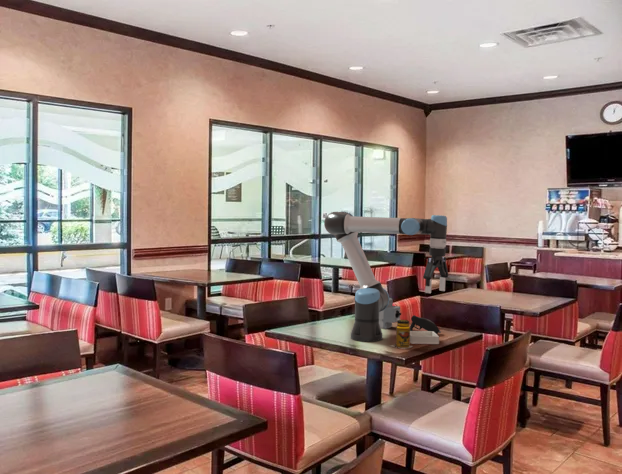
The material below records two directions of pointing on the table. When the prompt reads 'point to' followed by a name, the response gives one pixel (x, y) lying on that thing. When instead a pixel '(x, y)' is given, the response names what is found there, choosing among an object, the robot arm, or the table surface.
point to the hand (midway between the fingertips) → (435, 291)
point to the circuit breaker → (389, 315)
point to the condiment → (402, 334)
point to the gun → (423, 324)
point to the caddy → (424, 337)
